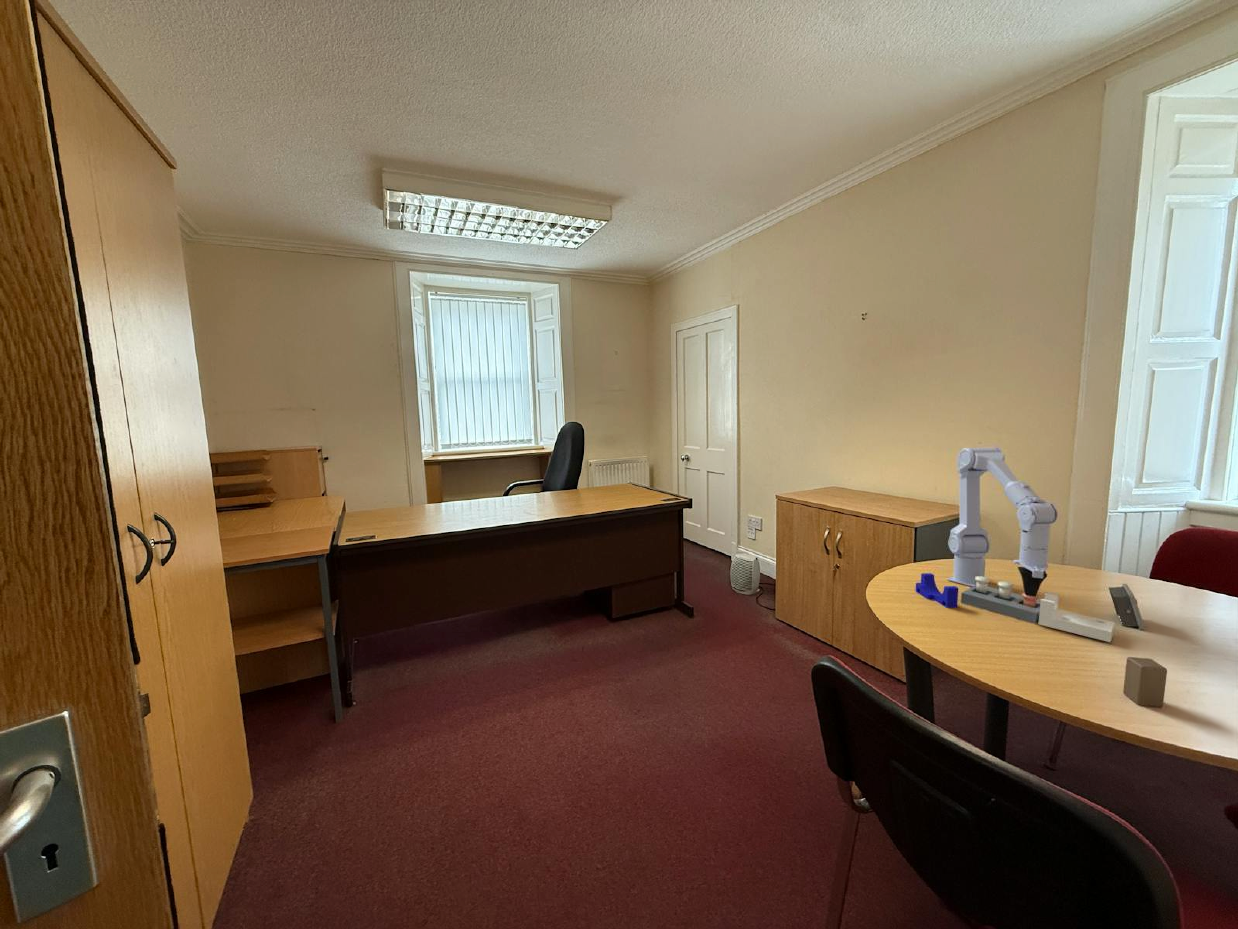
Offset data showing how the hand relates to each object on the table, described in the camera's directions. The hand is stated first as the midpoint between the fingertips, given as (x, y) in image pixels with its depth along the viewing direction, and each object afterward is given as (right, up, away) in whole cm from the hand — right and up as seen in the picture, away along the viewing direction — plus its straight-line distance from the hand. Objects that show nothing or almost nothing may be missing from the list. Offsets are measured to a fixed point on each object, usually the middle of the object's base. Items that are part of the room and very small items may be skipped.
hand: (1030, 595), depth 129 cm
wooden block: (-10, -11, -37) cm, 39 cm away
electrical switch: (+21, -6, -5) cm, 22 cm away
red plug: (0, -4, +1) cm, 4 cm away
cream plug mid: (-3, -2, +5) cm, 6 cm away
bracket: (+4, -7, -9) cm, 12 cm away
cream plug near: (-6, -1, +10) cm, 11 cm away
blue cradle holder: (-18, -5, +12) cm, 22 cm away
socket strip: (-3, -5, +5) cm, 8 cm away
